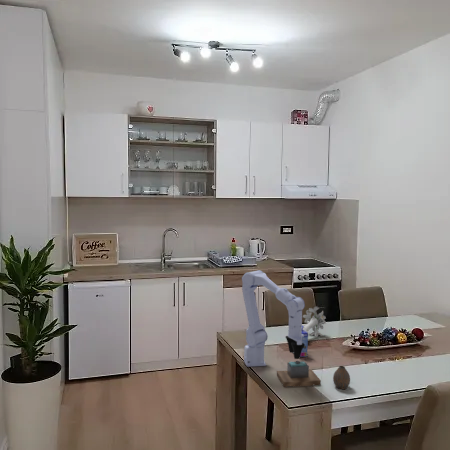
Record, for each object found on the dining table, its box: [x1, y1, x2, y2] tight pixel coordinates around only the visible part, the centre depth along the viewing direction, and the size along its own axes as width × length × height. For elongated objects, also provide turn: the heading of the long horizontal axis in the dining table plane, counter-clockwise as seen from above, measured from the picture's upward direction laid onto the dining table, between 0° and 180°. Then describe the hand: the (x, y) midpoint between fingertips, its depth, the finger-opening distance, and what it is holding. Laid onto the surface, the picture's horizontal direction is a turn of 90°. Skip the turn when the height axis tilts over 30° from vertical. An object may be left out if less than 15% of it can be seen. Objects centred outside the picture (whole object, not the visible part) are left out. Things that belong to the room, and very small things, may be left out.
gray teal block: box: [286, 361, 310, 378], centre depth 193 cm, size 5×8×5 cm, turn 98°
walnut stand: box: [276, 368, 322, 388], centre depth 193 cm, size 16×12×2 cm
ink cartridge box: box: [292, 325, 309, 358], centre depth 225 cm, size 10×6×14 cm, turn 16°
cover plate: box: [288, 360, 307, 367], centre depth 193 cm, size 4×7×2 cm, turn 97°
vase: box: [332, 365, 351, 390], centre depth 187 cm, size 7×7×9 cm
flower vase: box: [302, 305, 327, 338], centre depth 250 cm, size 13×18×25 cm
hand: (294, 355), depth 198 cm, fingers open, 7 cm apart
